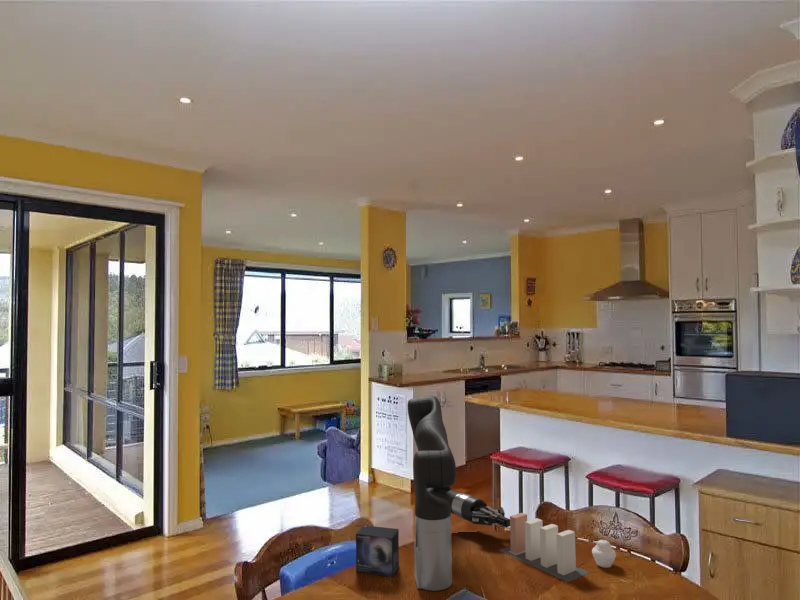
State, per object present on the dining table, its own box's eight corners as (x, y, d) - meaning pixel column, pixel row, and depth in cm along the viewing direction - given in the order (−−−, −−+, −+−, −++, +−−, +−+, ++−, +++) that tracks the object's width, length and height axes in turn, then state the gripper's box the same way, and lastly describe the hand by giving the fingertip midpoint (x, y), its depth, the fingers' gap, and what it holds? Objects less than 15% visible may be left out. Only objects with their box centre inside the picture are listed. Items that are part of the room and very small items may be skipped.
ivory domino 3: (557, 572, 145) (556, 533, 145) (569, 567, 148) (568, 529, 148) (563, 575, 143) (562, 536, 144) (575, 570, 146) (574, 531, 147)
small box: (354, 573, 147) (354, 533, 148) (363, 562, 153) (363, 524, 154) (392, 577, 144) (392, 537, 145) (399, 567, 150) (399, 528, 151)
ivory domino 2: (540, 565, 149) (539, 527, 150) (553, 560, 152) (552, 523, 153) (546, 567, 148) (545, 529, 148) (558, 563, 151) (557, 525, 151)
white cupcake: (595, 559, 154) (595, 533, 154) (618, 564, 150) (618, 538, 151) (589, 567, 149) (588, 541, 149) (613, 573, 145) (612, 546, 145)
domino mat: (498, 551, 160) (498, 549, 160) (520, 544, 165) (520, 542, 165) (567, 583, 140) (567, 581, 140) (590, 574, 145) (590, 572, 145)
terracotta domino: (510, 551, 158) (509, 516, 159) (522, 547, 161) (521, 512, 162) (515, 553, 157) (515, 518, 157) (527, 549, 160) (527, 514, 160)
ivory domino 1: (525, 558, 154) (524, 521, 154) (537, 554, 157) (537, 518, 157) (531, 560, 152) (530, 524, 153) (543, 556, 155) (542, 520, 156)
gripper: (453, 500, 173) (492, 515, 159) (484, 492, 181) (524, 506, 167) (453, 524, 173) (492, 541, 159) (484, 515, 180) (524, 531, 166)
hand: (508, 523), depth 163 cm, fingers closed
